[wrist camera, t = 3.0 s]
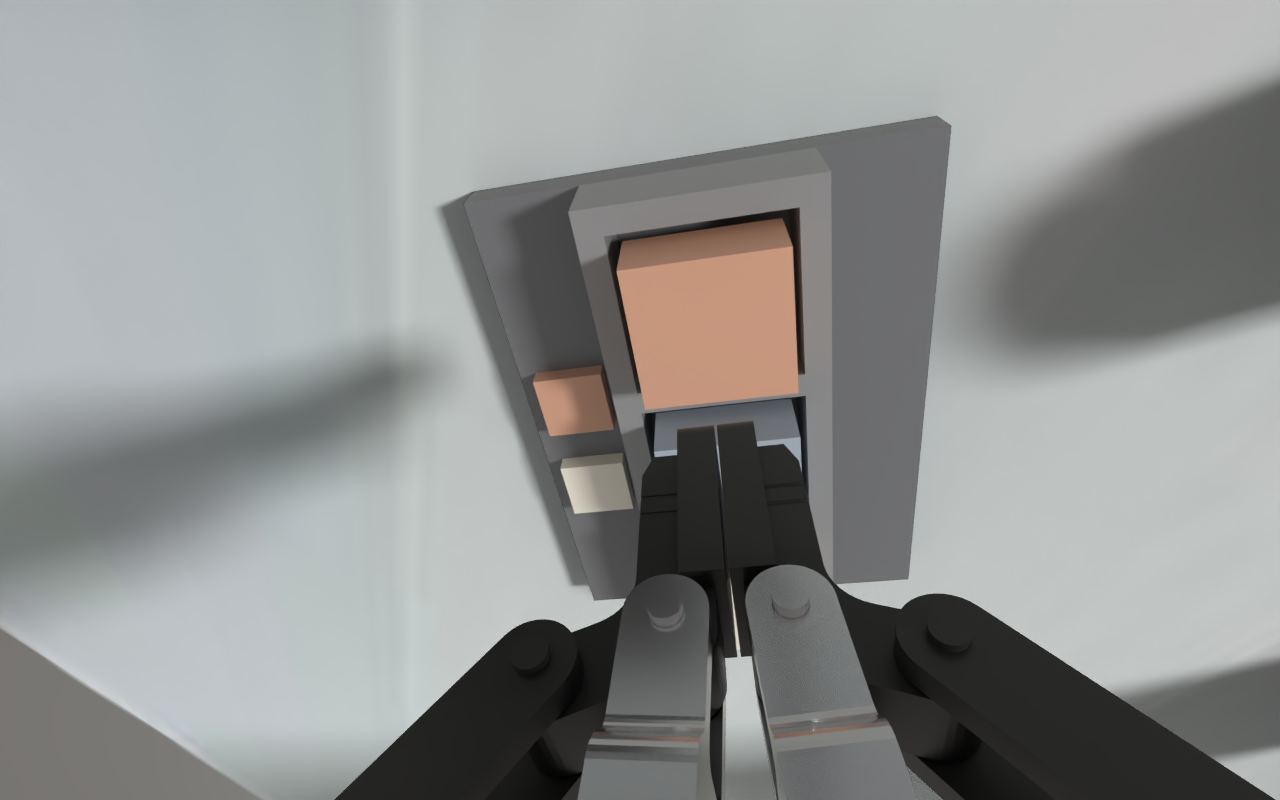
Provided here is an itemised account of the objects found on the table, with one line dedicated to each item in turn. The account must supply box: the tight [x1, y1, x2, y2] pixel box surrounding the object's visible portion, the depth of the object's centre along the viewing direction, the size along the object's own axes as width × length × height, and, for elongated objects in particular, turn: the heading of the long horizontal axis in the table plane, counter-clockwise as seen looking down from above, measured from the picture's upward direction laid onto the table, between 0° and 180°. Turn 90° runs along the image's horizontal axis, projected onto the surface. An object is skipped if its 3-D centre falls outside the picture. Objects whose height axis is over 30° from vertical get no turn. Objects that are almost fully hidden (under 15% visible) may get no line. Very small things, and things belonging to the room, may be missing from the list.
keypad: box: [464, 116, 951, 600], centre depth 23 cm, size 14×19×4 cm
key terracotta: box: [617, 218, 799, 410], centre depth 18 cm, size 4×4×2 cm
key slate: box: [654, 398, 802, 484], centre depth 22 cm, size 4×4×2 cm
